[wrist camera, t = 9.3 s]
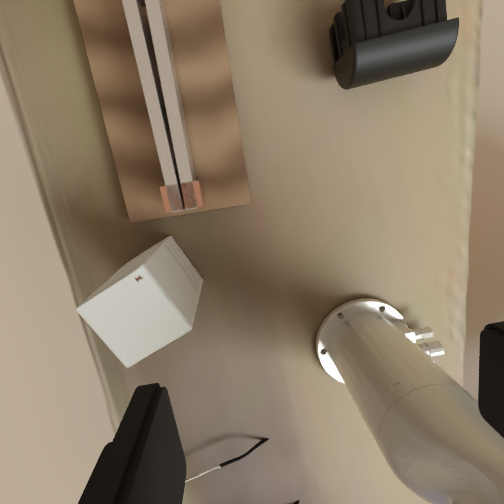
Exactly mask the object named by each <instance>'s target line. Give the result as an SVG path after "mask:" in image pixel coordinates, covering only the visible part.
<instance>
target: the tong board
mask: <svg viewBox="0 0 504 504" xmlns="http://www.w3.org/2000/svg"><path fill="white" fill-rule="evenodd" d="M138 1H139V3H140V5H141V7H142V9H143V11H144V13H145V15H146V19H147V24H148V28H149V33H150V37H151V42H152V46H153V51H154V55H155V50H154V45H153V40H152V35H151V30H150V25H149V20H148V15H147V9H146V4H145V0H138ZM73 2H74V6H75V9H76V13H77V17H78V21H79V25H80V29H81V33H82V37H83V41H84V45H85V48H86V52H87V56H88V60H89V64H90V68H91V72H92V76H93V80H94V84H95V87H96V91H97V95H98V99H99V103H100V107H101V111H102V115H103V119H104V123H105V127H106V130H107V134H108V138H109V142H110V146H111V150H112V154H113V158H114V162H115V166H116V169H117V173H118V177H119V181H120V185H121V189H122V193H123V197H124V201H125V205H126V209H127V212H128V216H129V220H130V223H135V222H141V221H147V220H153V219H159V218H165V217H171V216H177V215H183V214H189V213H196V212H202V211H208V210H214V209H220V208H226V207H232V206H238V205H244V204H250V203H251V199H250V193H249V186H248V180H247V174H246V167H245V161H244V155H243V148H242V142H241V135H240V129H239V123H238V116H237V110H236V103H235V97H234V91H233V84H232V78H231V71H230V65H229V59H228V52H227V46H226V39H225V33H224V27H223V20H222V14H221V7H220V1H219V0H161V2H162V5H163V7H164V10H165V13H166V19H167V24H168V29H169V35H170V40H171V46H172V51H173V57H174V62H175V68H176V73H177V78H178V84H179V89H180V95H181V100H182V106H183V111H184V117H185V122H186V128H187V133H188V138H189V144H190V149H191V155H192V160H193V166H194V171H195V177H196V181H198V180H202V185H203V190H204V196H205V202H206V204H205V205H204V206H203V207H198V208H197V209H190V210H186V209H185V210H183V211H178V212H167V213H166V212H165V208H164V203H163V199H162V195H161V191H160V187H162V186H165V182H164V177H163V173H162V169H161V164H160V160H159V156H158V152H157V147H156V143H155V139H154V135H153V130H152V126H151V122H150V118H149V113H148V109H147V105H146V101H145V96H144V92H143V88H142V84H141V79H140V75H139V71H138V67H137V62H136V58H135V54H134V49H133V45H132V41H131V37H130V32H129V28H128V24H127V20H126V15H125V11H124V7H123V3H122V0H73ZM155 60H156V55H155ZM156 64H157V60H156ZM157 69H158V66H157ZM158 73H159V71H158ZM159 78H160V76H159ZM160 83H161V81H160ZM161 87H162V86H161ZM162 92H163V91H162Z"/></svg>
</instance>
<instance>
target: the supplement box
mask: <svg viewBox="0 0 504 504" xmlns="http://www.w3.org/2000/svg"><path fill="white" fill-rule="evenodd" d="M202 284H203V279H202V278H201V276H200V275H199V273H198V272H197V271H196V269H195V268H194V266H193V265H192V264H191V262H190V261H189V260H188V258H187V257H186V255H185V254H184V253H183V251H182V250H181V249H180V247H179V246H178V244H177V243H176V242H175V240H174V239H173V238H172V236H171V235H170V236H168V237H166V238H165V239H163V240H162V241H160V242H158V243H157V244H155V245H154V246H152V247H150V248H149V249H147V250H146V251H144V252H143V253H141V254H140V255H138V256H137V257H135V258H134V259H132V260H131V261H129V262H128V263H126V264H125V265H123V266H122V267H121V268H120V269H119V270H118V271H117V272H116V273H115V274H113V275H112V276H111V277H110V278H109V279H108V280H107V281H106V282H105V283H103V284H102V285H101V286H100V287H99V288H98V289H97V290H96V291H94V292H93V293H92V294H91V295H90V296H89V297H88V298H87V299H86V300H85V301H83V302H82V303H81V304H80V305H79V306H78V307H77V308H76V311H77V312H78V313H79V314H80V315H81V316H82V318H83V319H84V320H85V321H86V322H87V323H88V324H89V325H90V327H91V328H92V329H93V330H94V331H95V332H96V333H97V335H98V336H99V337H100V338H101V339H102V340H103V341H104V343H105V344H106V345H107V346H108V347H109V348H110V349H111V351H112V352H113V353H114V354H115V355H116V356H117V358H118V359H119V360H120V361H121V362H122V363H123V364H124V366H125V367H126V368H129V367H130V366H132V365H134V364H135V363H137V362H139V361H140V360H142V359H143V358H145V357H147V356H148V355H150V354H151V353H153V352H155V351H157V350H158V349H160V348H162V347H163V346H165V345H167V344H169V343H170V342H172V341H174V340H176V339H177V338H179V337H181V336H182V335H184V334H186V333H188V332H189V331H191V330H192V328H193V323H194V318H195V314H196V310H197V306H198V301H199V297H200V293H201V288H202Z"/></svg>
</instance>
